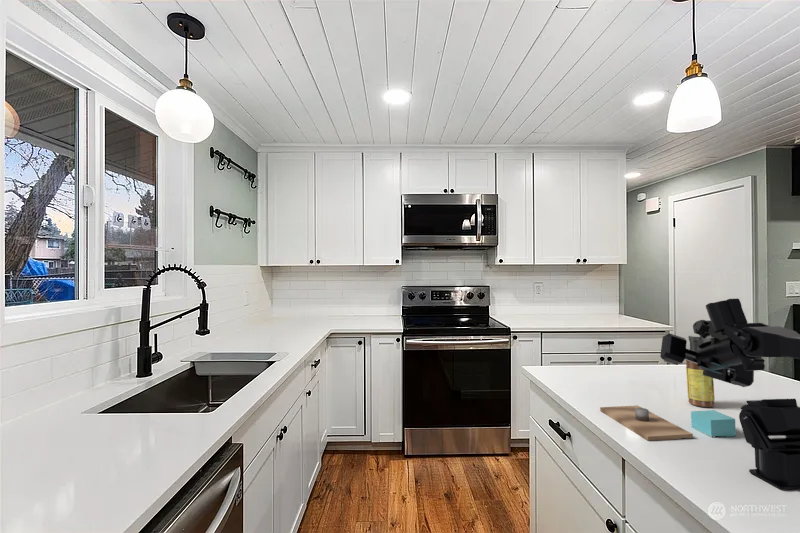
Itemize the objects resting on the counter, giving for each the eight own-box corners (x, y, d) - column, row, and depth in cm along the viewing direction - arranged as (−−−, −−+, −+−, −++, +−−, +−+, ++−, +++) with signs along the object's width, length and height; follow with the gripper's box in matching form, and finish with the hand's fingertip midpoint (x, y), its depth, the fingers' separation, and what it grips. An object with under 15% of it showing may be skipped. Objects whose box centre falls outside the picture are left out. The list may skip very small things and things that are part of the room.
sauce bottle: (719, 408, 112) (716, 337, 112) (694, 407, 113) (691, 337, 113) (706, 401, 118) (704, 333, 118) (683, 400, 119) (680, 333, 120)
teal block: (735, 435, 94) (735, 418, 94) (711, 437, 94) (710, 420, 94) (714, 426, 100) (713, 410, 100) (691, 427, 100) (690, 411, 100)
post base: (693, 438, 94) (692, 423, 94) (647, 440, 93) (647, 425, 93) (637, 408, 114) (637, 396, 114) (600, 410, 113) (599, 398, 113)
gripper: (776, 333, 87) (725, 349, 102) (686, 304, 91) (649, 324, 105) (776, 382, 83) (723, 392, 97) (681, 350, 86) (643, 364, 101)
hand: (684, 366), depth 100 cm, fingers open, 9 cm apart
